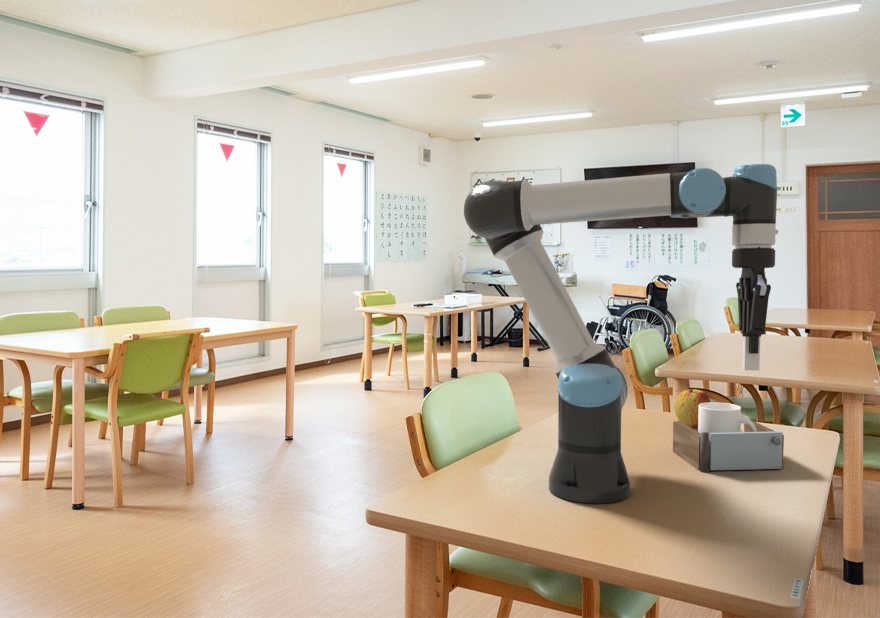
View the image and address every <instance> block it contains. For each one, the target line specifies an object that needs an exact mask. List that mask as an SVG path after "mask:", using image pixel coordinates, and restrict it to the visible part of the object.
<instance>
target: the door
mask: <svg viewBox="0 0 880 618" xmlns="http://www.w3.org/2000/svg"><path fill="white" fill-rule="evenodd" d="M783 435H784V434H783V432H782V431H780V430H779V431H777V430H774V431H772V432H744V431H741V432H725V433H709V469H710V470H709V471H734V470H735V471H737V470H738V471H739V470H741V471H742V470H776V469H777V470H781V469H783V468H782V437H783Z"/></svg>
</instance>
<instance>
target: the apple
mask: <svg viewBox="0 0 880 618" xmlns="http://www.w3.org/2000/svg"><path fill="white" fill-rule="evenodd" d="M708 402H711V399H710V397H709V395H708V394H707V392H705V391H703V390H700V389H692V388H690V389H686V390H683V391H681V392H680V393H678V395H677V396H676V398H675V401H674V407H673V408H674V413H675V415H676V418H677V420H678V421H680V422H682V423H684V424H685V425H687V426H689V427H691V428H692V429H696V428H698V409H699V404H701V403H708Z"/></svg>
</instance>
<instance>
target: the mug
mask: <svg viewBox="0 0 880 618" xmlns="http://www.w3.org/2000/svg"><path fill="white" fill-rule="evenodd" d="M751 420H752V419H749V417H747V416H745V415H744V414H742V407H741V406H740V405H737V404H733V403H728V402H716V401H715V402H714V401H710V402H708V403H701V404H699V409H698V427H697V432H699V433H701V432H707V433H725V432H742V431H741V430H742V429H741V425H742V424H743V425H744V424H747V425H748V426H750V427H751V428H752V429H753V431H754V432H757V431H756V427H755V425H754V424H753V423H752V421H753V420H752V421H751ZM708 457H709V455H708Z"/></svg>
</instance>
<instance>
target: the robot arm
mask: <svg viewBox="0 0 880 618" xmlns="http://www.w3.org/2000/svg"><path fill="white" fill-rule="evenodd" d="M777 179H778V178H777V169H776V167H775V166H774V165H772V164H769V163H767V164H766V163H752V164H743V165H739V166H738V165H737V166H736V167H735V168H734V170H733V174H732V176H728V177H727V176H725V177H722V175H721V174H720V173H719V172H717V171H716V170H714V169H712V168H707V167H700V168H695V169H692V170H690V171H680V172H672V173H669V172H667V173H655V174H646V175H645V174H644V175H632V176H621V177H612V178H611V177H610V178H599V179H586V180H576V181H575V180H574V181H566V182H565V181H562V182H553V183H552V182H551V183H543V184H542V183H541V184H532V183H530V182H529V181H527V180H526V179H523V180H510V181H509V180H507V181H506V180H488V181H484V182H481V183H479V184H477V185H475V186H474V187H473V188H472V189H471V191H469V193H468V195H467V196H466V199H465V200H464V204H463V216H464V220H465V222H466V225H467V226H468V228H469V229H470V230H471V231H472V232H473V234H475V235H477V236H479V237H481V238H484V240H485V242H486V243H487V245H488V247H489V249H490V251H491V253H492V255H493V257H494V258H495V259H499V260H501V261H503V262H505V264H506V266H507V268H508V270H509V272H510V275H512V277H513V279H514V281H515V283H516V285H517V286H518V289H519V290H520V293H521V294H522V297H523V299H524V301H525V303H526V304H527V306H528V308H529V310H530V313H531V314H532V315H533V318H534V319H535V321H536V323H537V325H538V327H539V329H540V331H541V333H542V335H543V336H544V339H545V340H546V342H547V344H548V347H549V348H550V350H551V351H552V354H553V356H554V357H555V359H556V366H555V369H554V373H555V375H556V377H557V379H558V382H557V394H558V395H557V397H558V402H557V403H558V411H557V412H558V417H557V421H558V422H557V423H558V428H557V431H558V432H557V433H558V434H557V435H558V436H557V437H558V438H557V439H558V440H557V441H558V443H557V444H558V445H557V446H558V448H557V453H556V455H555V458H554V461H553V464H552V467H551V470H550V472H549V476H548V490H549V491H550V493H551V494H553V495H555V496H556V497H558V498H561V499H564V500H567V501H571V502H577V503H584V504H608V503H616V502H620V501H623V500H625V499H627V498H628V497H629V496H630V494H631V481H630V477H629V473H628V471H627V467H626V464H625V460H624V458H623V455H622V411H623V408H624V406H625V403H626V400H627V397H628V383H627V380H626V377H625V375H624V373H623V372H622V370H620V368H619V367H618V366H616V364H615V363H614V361H613V359H612V357H611V354H610V353H609V352H608V350H607V349H606V347H605V346H604V345H602V344H597V343H596V342H595V341H594V340H593V337H592V335H591V333H590V332H589V330H588V328H587V326H586V324H585V323H584V321H583V319H582V317H581V314H580V313H579V311H578V310H577V307H576V305H575V304H574V301H573V300H572V298H571V296H570V294H569V292H568V291H567V289H566V287H565V284H564V283H563V281H562V278H561V277H560V275H559V274H558V272H557V270H556V268H555V267H554V264H553V262H552V260H551V258H550V256H549V255H548V253H547V251H546V249H545V247H544V245H543V243H542V238H543V235H544V230H543V228H542V226H541V225H553V224H566V223H567V224H568V223H579V222H593V221H594V222H595V221H607V220H609V221H611V220H624V219H635V218H638V219H639V218H649V217H651V218H652V217H664V216H665V217H666V216H668V217H670V218H673V219H674V218H679V219H680V218H681V219H689V218H691V219H692V218H713V217H714V218H716V217H717V218H718V217H724V218H725V217H727V218H728V217H732V227H731V228H732V229H731V230H732V231H731V232H732V234H731V235H732V236H731V245H732V246H734V247H735V248H733V249H732V250H731V266H732V268H734V269H741V276H740V277H739V278H738V282H736V284H735V287H736V293H737V309H738V311H737V312H738V329H739V332H741V335H742V366H741V368H742V371H743V370H744V371H760V364H761V362H760V360H761V359H760V358H761V357H760V355H761V354H760V353H761V352H760V351H761V337H762V335H765V332H766V323H767V316H768V315H767V314H768V305H769V299H770V293H771V290H772V286H771V284H768V279H767V277H766V271H765V269H770V268H771V269H772V268H774V267H775V266H776V249H775V248H772V246H774V245H775V244H776V235H778V234H779V230H778V229H776V227H777V224H776V223H777V204H778V203H777V201H778V189H779V188H778V186H777V183H778V182H777Z"/></svg>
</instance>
